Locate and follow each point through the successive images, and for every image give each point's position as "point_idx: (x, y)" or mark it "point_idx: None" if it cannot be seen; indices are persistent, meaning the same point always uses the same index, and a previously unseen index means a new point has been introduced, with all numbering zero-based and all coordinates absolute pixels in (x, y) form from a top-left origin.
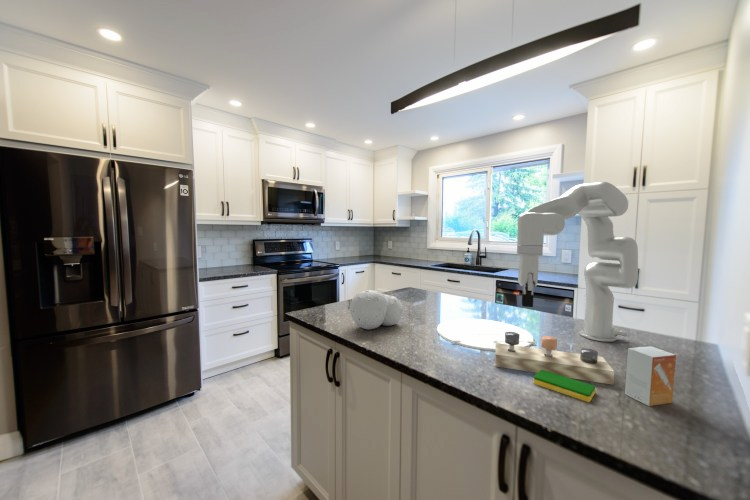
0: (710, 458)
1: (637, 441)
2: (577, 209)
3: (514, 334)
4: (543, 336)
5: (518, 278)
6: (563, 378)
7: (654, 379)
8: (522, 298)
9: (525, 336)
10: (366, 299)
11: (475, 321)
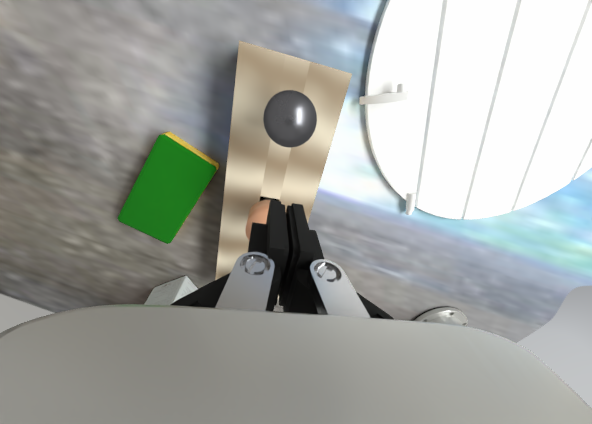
0: (35, 288)
1: (18, 230)
2: None
3: (284, 127)
4: None
5: (452, 403)
6: (179, 200)
7: None
8: (270, 225)
9: (454, 201)
10: None
11: None
